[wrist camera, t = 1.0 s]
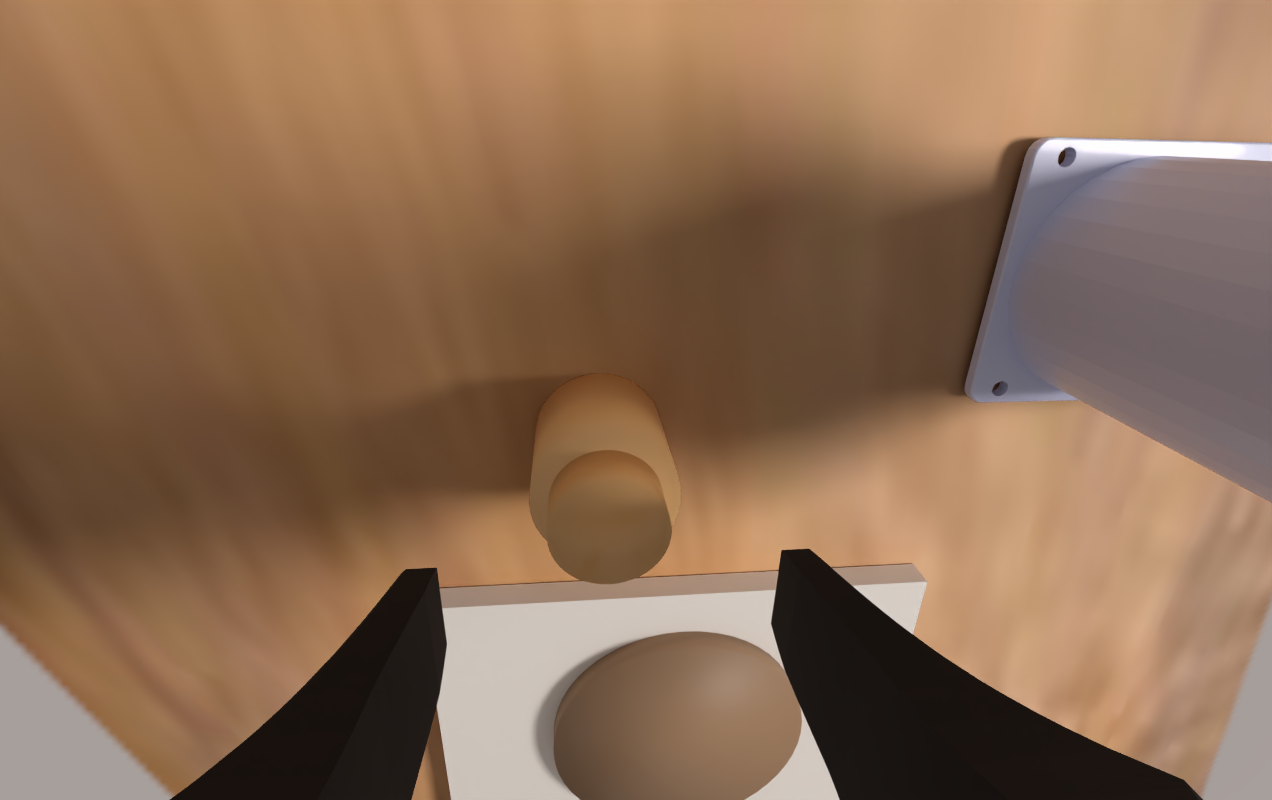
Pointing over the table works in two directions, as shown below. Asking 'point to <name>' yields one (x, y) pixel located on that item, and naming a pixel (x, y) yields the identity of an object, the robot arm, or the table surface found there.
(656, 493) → the stepped tan cylinder
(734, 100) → the table surface
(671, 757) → the plinth
